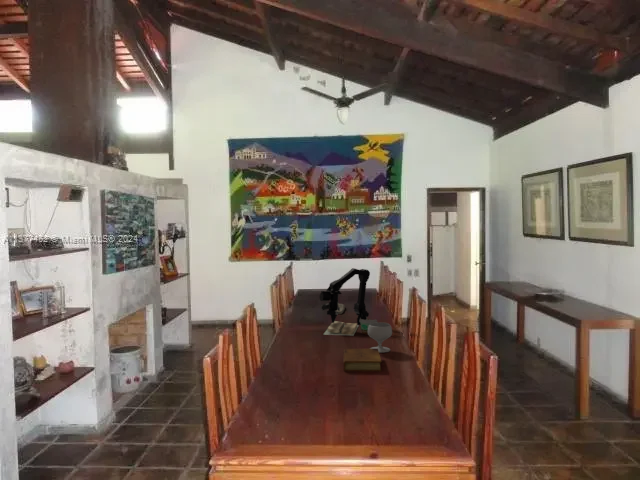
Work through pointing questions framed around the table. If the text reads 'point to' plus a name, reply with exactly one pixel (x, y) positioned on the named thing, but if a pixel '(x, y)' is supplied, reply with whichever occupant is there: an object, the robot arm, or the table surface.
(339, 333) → the underlay mat
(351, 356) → the diary
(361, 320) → the food container
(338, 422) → the table surface
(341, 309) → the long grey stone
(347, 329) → the oak board
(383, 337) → the chalice
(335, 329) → the plank
